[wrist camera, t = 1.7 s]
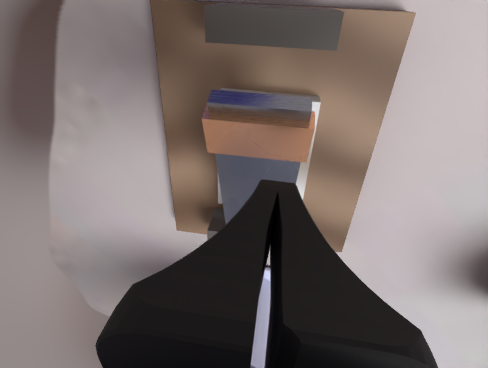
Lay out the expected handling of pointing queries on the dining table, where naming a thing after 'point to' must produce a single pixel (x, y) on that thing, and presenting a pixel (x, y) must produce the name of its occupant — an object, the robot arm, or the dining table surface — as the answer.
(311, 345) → the robot arm
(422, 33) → the dining table surface
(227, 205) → the tan and grey block
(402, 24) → the clamp board
